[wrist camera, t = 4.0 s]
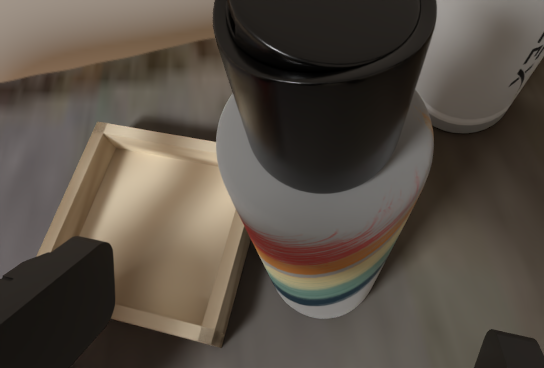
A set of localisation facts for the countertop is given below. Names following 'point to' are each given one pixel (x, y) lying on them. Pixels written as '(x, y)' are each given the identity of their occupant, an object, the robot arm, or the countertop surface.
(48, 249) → the tray
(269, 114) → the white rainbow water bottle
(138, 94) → the countertop surface
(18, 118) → the countertop surface
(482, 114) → the travel mug
